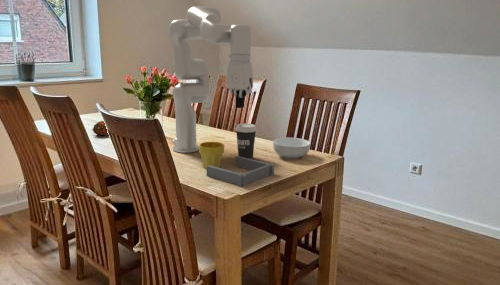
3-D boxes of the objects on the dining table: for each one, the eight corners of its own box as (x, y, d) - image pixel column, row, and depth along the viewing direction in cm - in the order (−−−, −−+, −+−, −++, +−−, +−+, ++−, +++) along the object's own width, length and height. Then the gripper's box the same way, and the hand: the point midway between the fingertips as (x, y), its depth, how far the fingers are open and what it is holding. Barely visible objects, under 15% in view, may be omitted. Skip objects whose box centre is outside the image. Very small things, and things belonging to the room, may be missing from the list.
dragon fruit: (101, 141, 230) (100, 139, 241) (114, 130, 232) (112, 129, 243) (90, 128, 227) (89, 127, 238) (103, 118, 229) (101, 117, 240)
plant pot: (226, 169, 181) (226, 146, 178) (201, 171, 178) (201, 148, 175) (221, 162, 190) (221, 140, 188) (197, 164, 187) (197, 142, 185)
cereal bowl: (279, 162, 192) (280, 147, 190) (268, 152, 207) (268, 138, 206) (315, 160, 196) (316, 145, 194) (301, 150, 212) (302, 136, 210)
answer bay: (205, 176, 172) (205, 166, 171) (238, 164, 188) (238, 155, 187) (242, 187, 161) (242, 176, 160) (275, 173, 177) (275, 164, 176)
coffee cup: (234, 155, 202) (234, 123, 198) (255, 155, 203) (255, 123, 199) (235, 161, 193) (235, 127, 189) (257, 160, 194) (257, 127, 190)
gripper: (218, 58, 165) (218, 106, 170) (249, 60, 156) (248, 111, 161) (231, 57, 171) (231, 104, 176) (262, 59, 162) (261, 108, 167)
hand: (239, 107), depth 168 cm, fingers closed
